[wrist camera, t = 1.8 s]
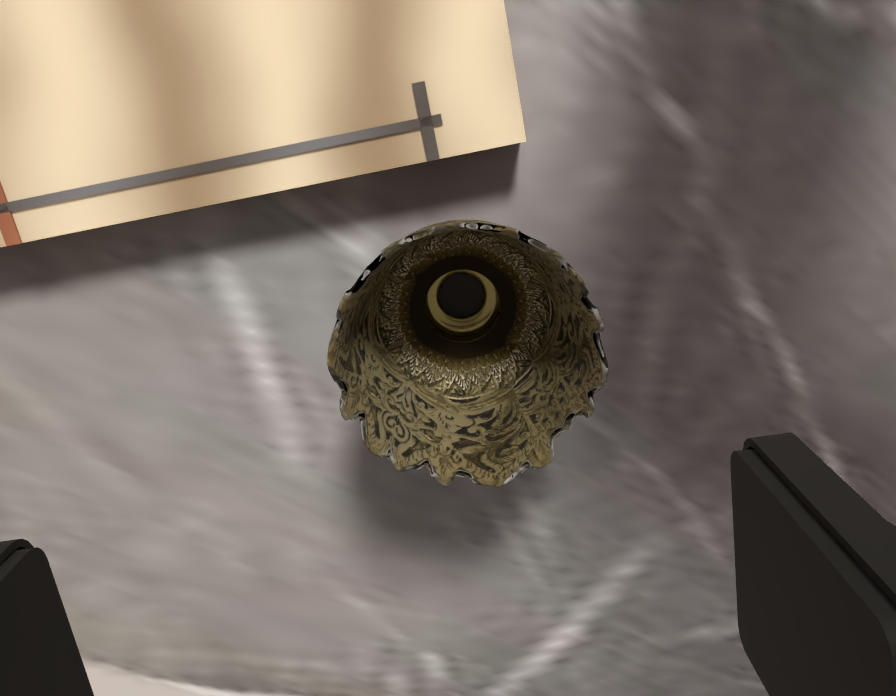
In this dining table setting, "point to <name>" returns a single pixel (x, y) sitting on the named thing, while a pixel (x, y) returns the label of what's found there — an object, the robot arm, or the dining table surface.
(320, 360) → the dining table surface
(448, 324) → the cup
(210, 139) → the maple board
